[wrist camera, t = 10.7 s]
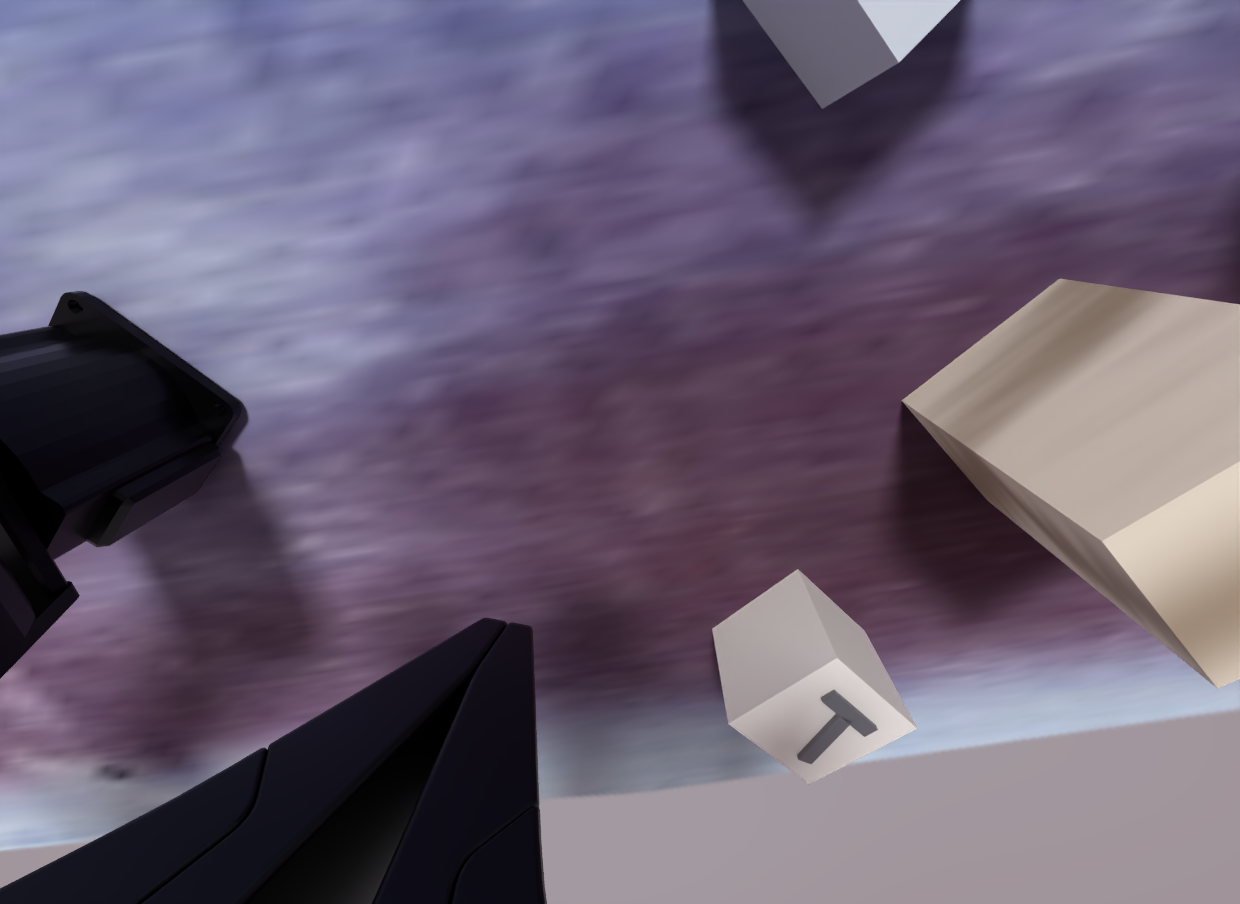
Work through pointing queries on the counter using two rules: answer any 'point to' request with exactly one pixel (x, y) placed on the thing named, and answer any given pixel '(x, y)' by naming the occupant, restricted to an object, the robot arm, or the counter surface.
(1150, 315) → the birch block
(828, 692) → the white letter block
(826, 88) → the white letter cube
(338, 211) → the counter surface
